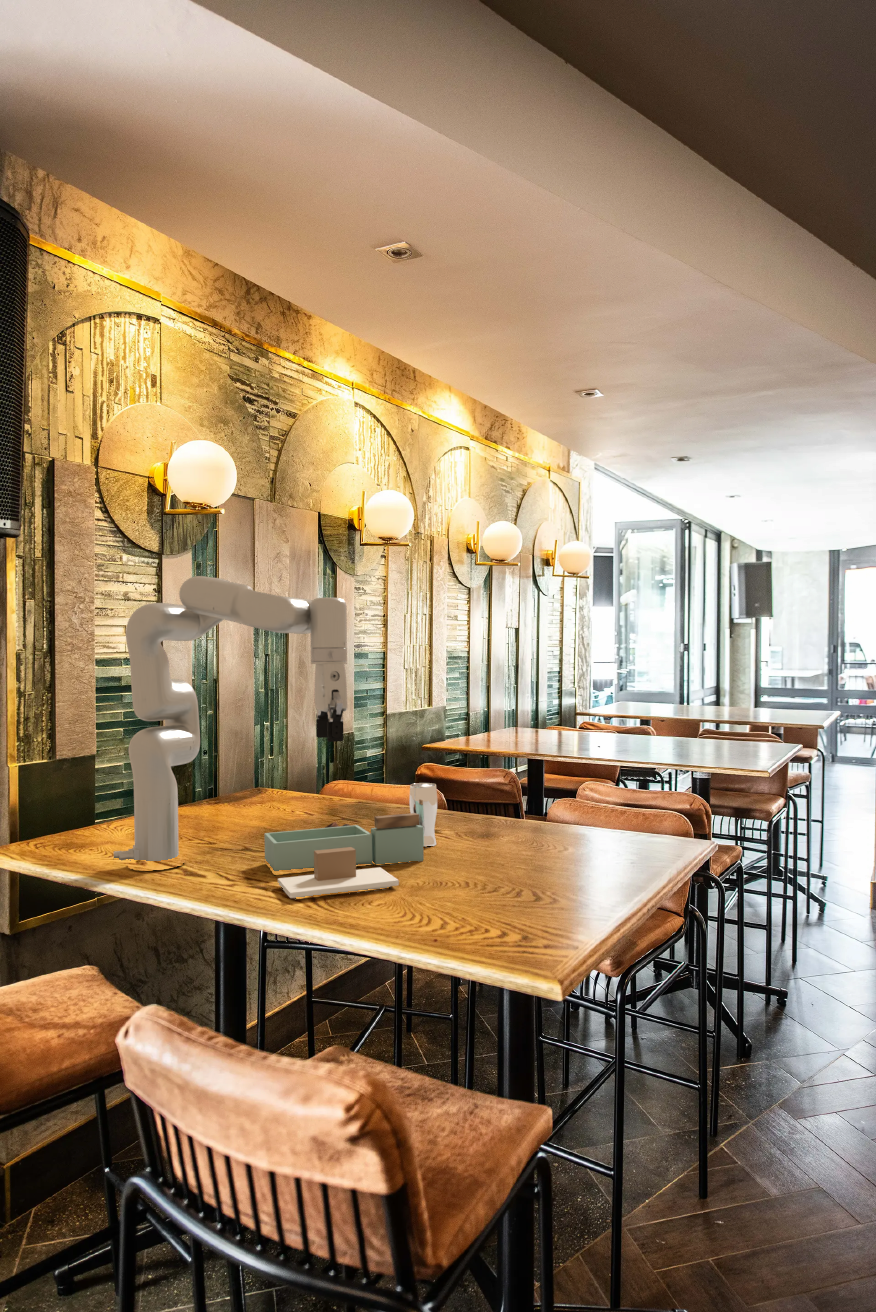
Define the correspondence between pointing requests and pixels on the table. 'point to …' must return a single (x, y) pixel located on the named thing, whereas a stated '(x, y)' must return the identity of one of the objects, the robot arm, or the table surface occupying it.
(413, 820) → the brown rectangular block
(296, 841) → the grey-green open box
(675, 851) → the table surface
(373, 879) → the lid
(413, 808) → the beer glass
